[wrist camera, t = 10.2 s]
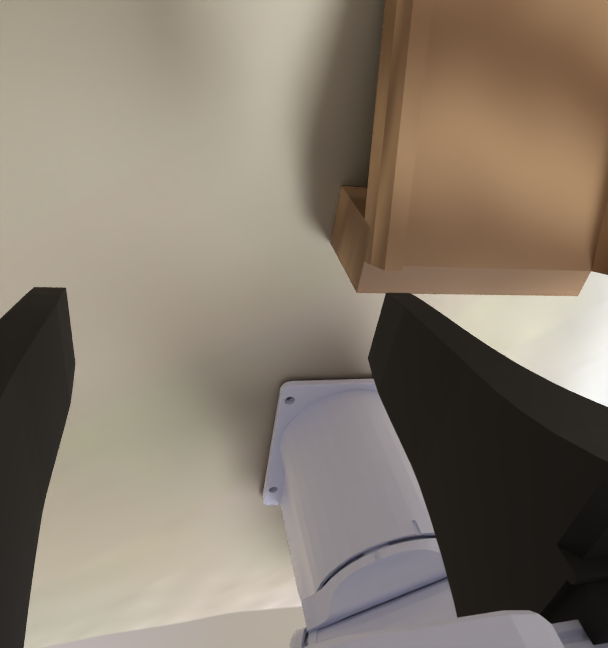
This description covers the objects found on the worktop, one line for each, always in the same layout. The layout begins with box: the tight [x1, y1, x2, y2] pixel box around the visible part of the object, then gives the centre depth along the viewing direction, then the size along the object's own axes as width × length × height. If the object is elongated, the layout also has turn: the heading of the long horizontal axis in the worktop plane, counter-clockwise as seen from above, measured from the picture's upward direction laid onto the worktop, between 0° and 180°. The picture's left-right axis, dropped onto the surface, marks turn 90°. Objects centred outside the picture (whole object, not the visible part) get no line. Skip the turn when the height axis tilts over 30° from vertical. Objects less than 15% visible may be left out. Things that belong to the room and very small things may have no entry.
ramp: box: [330, 0, 608, 296], centre depth 18 cm, size 14×10×7 cm
